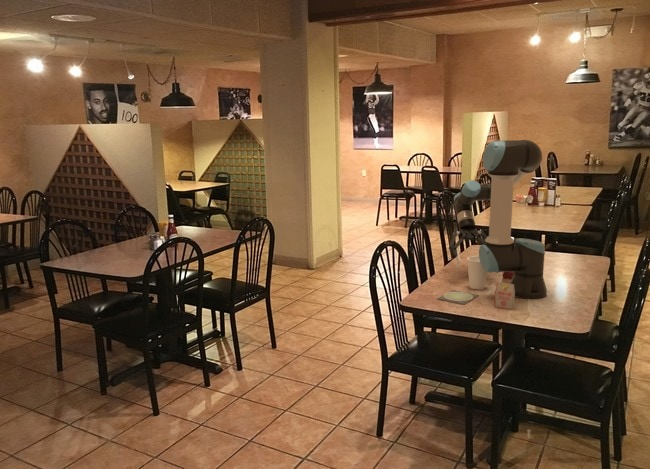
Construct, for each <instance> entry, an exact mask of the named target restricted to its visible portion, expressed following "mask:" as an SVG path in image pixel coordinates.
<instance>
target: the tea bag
mask: <svg viewBox="0 0 650 469" xmlns="http://www.w3.org/2000/svg"><path fill="white" fill-rule="evenodd" d="M515 298H516V296H515V289H514V284H511V283H507V282H501V281H500V282H499V281H496V284H495V291H494V306H493V307H494V308H497V309H503V310H510V311H512V310H513V309H514V308H515V301H516V300H515Z"/></svg>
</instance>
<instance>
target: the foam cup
mask: <svg viewBox="0 0 650 469" xmlns="http://www.w3.org/2000/svg"><path fill="white" fill-rule="evenodd" d="M466 265H467V273H468V281H469V282H468V284H469V288H470V289H472V290H484V289H485V286H486V281H487V277H488V272H487V271H485V270H484V269H483V267H482V265H481V263H480V259H479V255H478V256H476V255H472V256H468V257H466Z"/></svg>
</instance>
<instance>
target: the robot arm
mask: <svg viewBox="0 0 650 469" xmlns="http://www.w3.org/2000/svg"><path fill="white" fill-rule="evenodd" d="M542 162H543V152H542V149H541V147H540V146H539V145H538V144H537V143H536V142H534V141H532V140H529V139H519V140H516V139H515V140H514V139H513V140H511V139H510V140H508V139H507V140H502V139H501V140H494V141H491V142H489V143H488V144H487V145H486V146H485V149H484V151H483V156H482V164H483V166H482V167H483V168H484V170H485V171H487V175H488V177H490V178H491V183H485V184H484V183H481V184H480V183H479V182H478V181H476V180H473V179H470V180H467V181H466V182H465V184H464V185H463V186H462V188H461V190H460V192H458V193H457V194H455V195H454V196H453V205H454V209H455V213H456V219H457V224H458V230H459V231H458V230H456V229H454V230H453V233H452V235H453V236H452V237H451V238H452V239H451V241H450V243H449V245H448V250H452V252H453V256H454V257H456V262H457V264H458V265H459V264H460V263H461V256H460V252H459V246H460V245H461V244H462V242H463V241H464V240H465V241H475V242H477V243H478V244H480V246H479V248H478V256H479V259H480V263H481V265H482V267H483V269H484V270H485V271H487V273H495V274H497V273H504V272H505V273H506V272H507V273H508V272H509V273H510V272H513V277H512V279H511V281H510V284H514V289H515V298H516V297H517V298H522V299H531V300H533V299H535V300H536V299H542V298H545V297H547V294H548V293H547V291H548V289H547V286H546V282H545V280H544V269H545V268H544V267H545V254H546V250H545V249H546V248H545V244H544V243H543V242H541V241H539V240H534V239H531V238H530V239H529V238H516V239H515V240H514V239H513V237H511V235H512V234H511V233H512V219H513V218H512V217H513V200H514V186H516V185H517V183H518V182H519V181H521V180H522V179H523V178H524V177H525V176H526V175H527V174H531V173H533V172H535V171H536V170H537V169H538V168H539V167H540V166H541V163H542ZM476 201H489V202H490V203H489V204H490V207H489V226H488V236H487V234H486V233H485V231H484V229H483V228H482V229H480V230H477V227H476V222H475V217H474V214H473V213H474V212H473V205H474V203H475V202H476ZM458 236H460V237H459V239H458V241H457V242H456V243H455V241H456V237H458ZM454 243H455V244H454Z"/></svg>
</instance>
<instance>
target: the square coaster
mask: <svg viewBox="0 0 650 469" xmlns="http://www.w3.org/2000/svg"><path fill="white" fill-rule="evenodd" d="M479 296H480V295H479V294H476V293H471V292H465V291H460V290H455V289H452V290H451V291H447V293H444V294H443V295H440V296H438V297H437V299H436V300H437V301H438V300H439V301H443V302H447V303H453V304H458V305H462V306H464V305H466V304H468V303H471V302H472V301H473V300H474V299H477V298H478V297H479Z"/></svg>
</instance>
